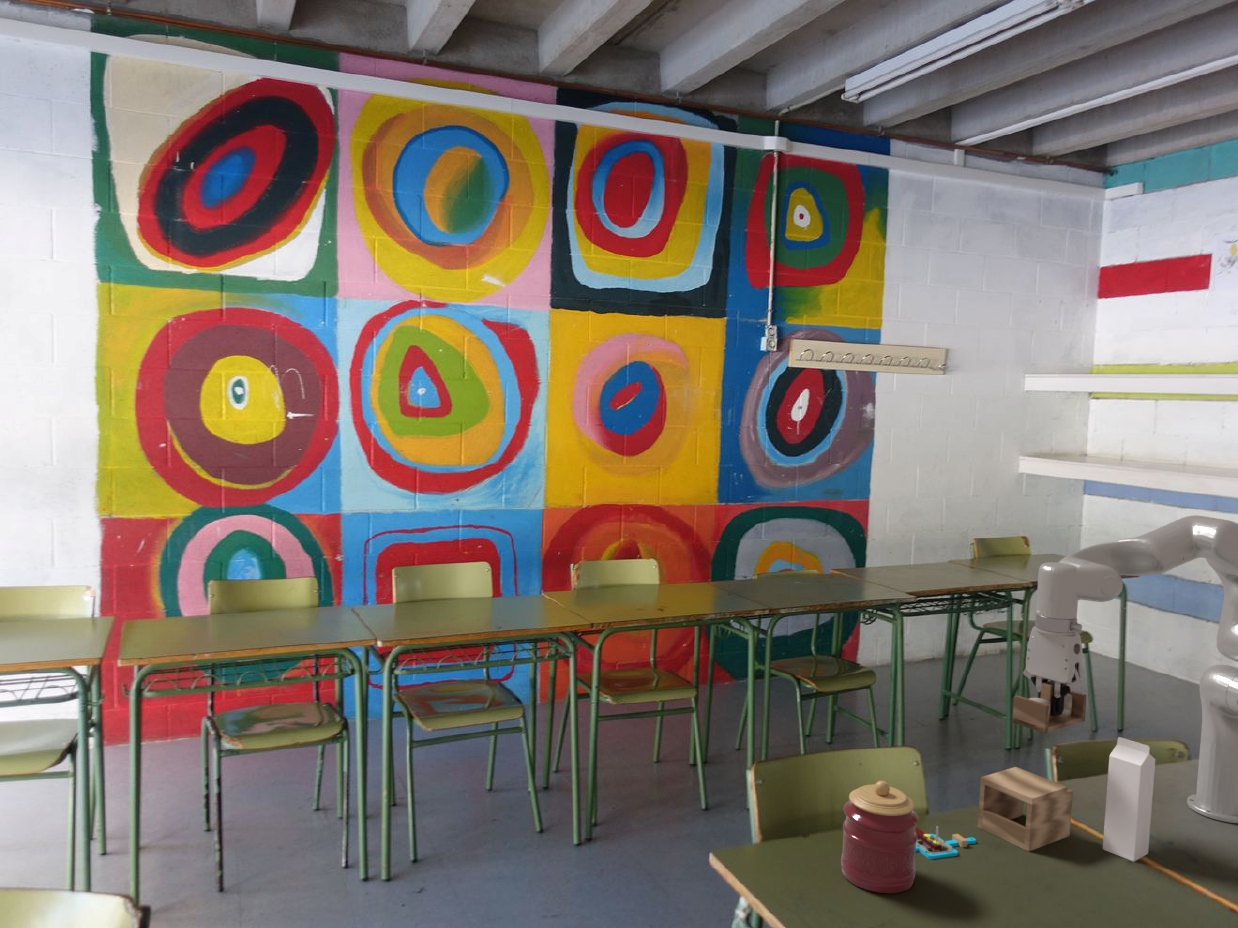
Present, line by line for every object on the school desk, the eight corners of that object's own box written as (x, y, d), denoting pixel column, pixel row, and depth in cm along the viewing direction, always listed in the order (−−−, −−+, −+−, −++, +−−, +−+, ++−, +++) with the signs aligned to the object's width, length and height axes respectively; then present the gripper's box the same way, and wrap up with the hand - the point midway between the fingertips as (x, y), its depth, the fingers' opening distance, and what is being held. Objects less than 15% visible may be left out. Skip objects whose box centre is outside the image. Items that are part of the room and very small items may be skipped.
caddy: (1053, 710, 197) (1055, 673, 197) (1084, 720, 192) (1087, 682, 191) (1012, 722, 190) (1014, 683, 189) (1044, 733, 184) (1046, 693, 183)
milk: (1133, 862, 178) (1142, 749, 176) (1101, 849, 183) (1109, 739, 181) (1148, 853, 181) (1157, 743, 180) (1116, 840, 186) (1124, 733, 184)
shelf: (1018, 813, 197) (1021, 764, 197) (1069, 835, 188) (1073, 784, 187) (977, 827, 190) (980, 776, 189) (1028, 851, 180) (1032, 798, 180)
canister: (825, 865, 172) (830, 772, 171) (882, 853, 178) (887, 763, 176) (871, 900, 161) (876, 801, 159) (930, 887, 166) (936, 790, 164)
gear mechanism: (870, 843, 183) (899, 866, 174) (872, 816, 182) (901, 838, 174) (956, 831, 189) (987, 853, 180) (957, 805, 189) (989, 826, 180)
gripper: (1104, 630, 185) (1098, 721, 186) (1030, 613, 198) (1025, 698, 199) (1082, 635, 181) (1076, 728, 182) (1009, 617, 194) (1004, 704, 195)
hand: (1050, 712), depth 191 cm, fingers closed on caddy
